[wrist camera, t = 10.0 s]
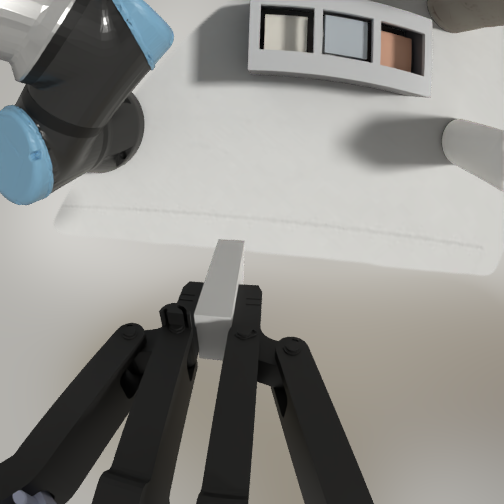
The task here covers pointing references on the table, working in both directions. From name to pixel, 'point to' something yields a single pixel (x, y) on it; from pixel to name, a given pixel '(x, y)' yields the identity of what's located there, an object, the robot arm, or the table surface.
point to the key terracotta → (396, 51)
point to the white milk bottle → (476, 150)
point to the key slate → (345, 37)
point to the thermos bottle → (466, 14)
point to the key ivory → (285, 33)
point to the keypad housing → (339, 68)
